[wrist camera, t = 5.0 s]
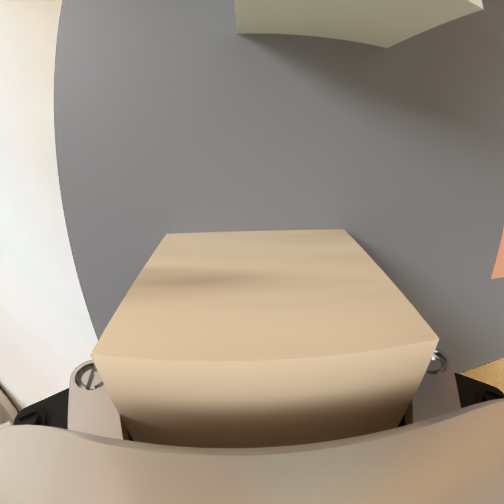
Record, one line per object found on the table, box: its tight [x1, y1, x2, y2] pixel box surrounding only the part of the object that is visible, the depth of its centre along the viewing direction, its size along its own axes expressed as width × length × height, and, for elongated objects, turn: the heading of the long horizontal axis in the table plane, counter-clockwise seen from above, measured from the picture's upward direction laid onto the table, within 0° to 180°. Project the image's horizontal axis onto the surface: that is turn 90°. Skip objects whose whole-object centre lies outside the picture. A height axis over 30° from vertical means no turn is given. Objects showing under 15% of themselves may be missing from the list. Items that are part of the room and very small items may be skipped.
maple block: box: [91, 229, 439, 448], centre depth 8 cm, size 6×6×6 cm
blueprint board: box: [54, 0, 504, 373], centre depth 10 cm, size 22×30×1 cm
